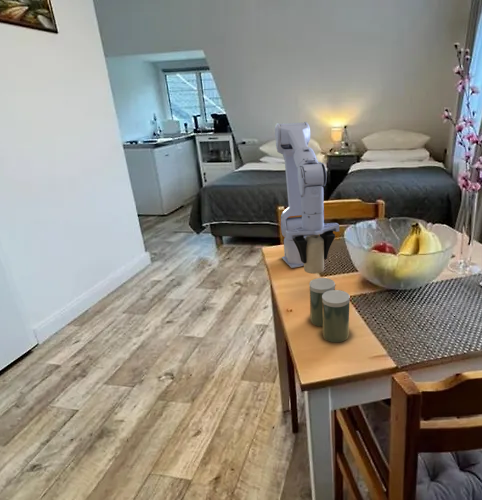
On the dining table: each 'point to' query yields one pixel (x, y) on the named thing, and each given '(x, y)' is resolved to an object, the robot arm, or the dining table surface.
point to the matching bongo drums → (329, 309)
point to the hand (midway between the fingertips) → (313, 260)
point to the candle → (314, 254)
